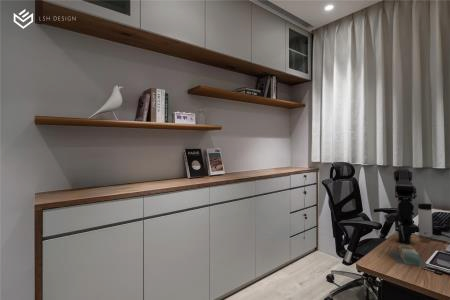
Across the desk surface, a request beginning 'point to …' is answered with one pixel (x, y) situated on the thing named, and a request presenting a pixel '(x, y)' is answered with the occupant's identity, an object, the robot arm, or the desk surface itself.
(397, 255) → the mat
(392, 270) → the desk surface
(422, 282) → the desk surface
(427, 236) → the travel mug
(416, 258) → the ash block
